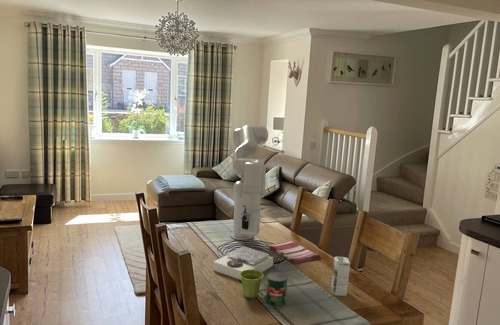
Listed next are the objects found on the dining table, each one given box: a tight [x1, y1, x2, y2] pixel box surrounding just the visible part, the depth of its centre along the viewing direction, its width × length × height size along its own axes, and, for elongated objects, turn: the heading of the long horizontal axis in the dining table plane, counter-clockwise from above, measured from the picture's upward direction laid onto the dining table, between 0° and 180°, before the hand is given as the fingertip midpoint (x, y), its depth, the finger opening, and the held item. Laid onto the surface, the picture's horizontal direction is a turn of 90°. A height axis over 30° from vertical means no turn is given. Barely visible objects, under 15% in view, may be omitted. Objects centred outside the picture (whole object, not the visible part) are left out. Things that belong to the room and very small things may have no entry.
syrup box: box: [330, 256, 351, 297], centre depth 170 cm, size 6×6×14 cm
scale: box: [212, 254, 274, 281], centre depth 190 cm, size 22×18×5 cm
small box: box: [240, 210, 261, 237], centre depth 190 cm, size 8×6×10 cm
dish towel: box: [266, 240, 321, 265], centre depth 211 cm, size 17×23×3 cm
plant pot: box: [240, 270, 264, 299], centre depth 165 cm, size 9×9×9 cm
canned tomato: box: [264, 271, 288, 308], centre depth 159 cm, size 8×8×11 cm
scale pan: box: [226, 246, 271, 265], centre depth 192 cm, size 13×15×1 cm
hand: (249, 226), depth 190 cm, fingers closed on small box, 7 cm apart
